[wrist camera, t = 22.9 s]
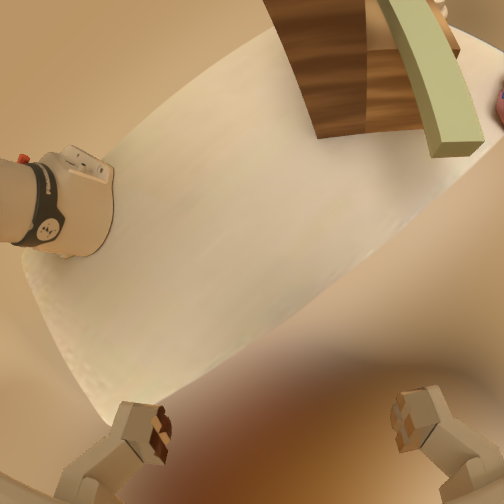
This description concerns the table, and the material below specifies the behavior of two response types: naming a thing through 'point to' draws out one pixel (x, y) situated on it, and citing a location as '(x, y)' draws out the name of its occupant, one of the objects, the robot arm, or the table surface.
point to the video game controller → (501, 105)
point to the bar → (434, 79)
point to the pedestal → (349, 64)
